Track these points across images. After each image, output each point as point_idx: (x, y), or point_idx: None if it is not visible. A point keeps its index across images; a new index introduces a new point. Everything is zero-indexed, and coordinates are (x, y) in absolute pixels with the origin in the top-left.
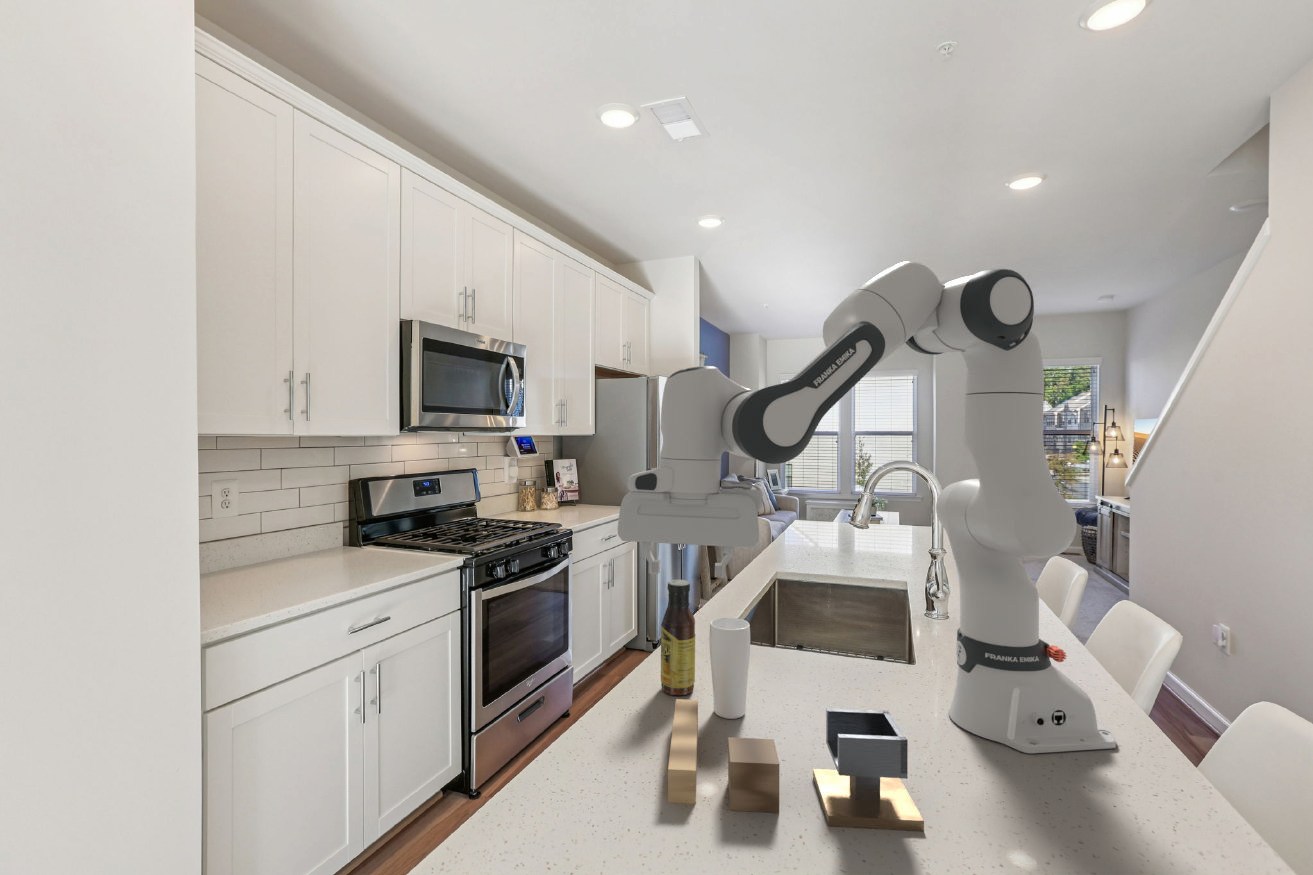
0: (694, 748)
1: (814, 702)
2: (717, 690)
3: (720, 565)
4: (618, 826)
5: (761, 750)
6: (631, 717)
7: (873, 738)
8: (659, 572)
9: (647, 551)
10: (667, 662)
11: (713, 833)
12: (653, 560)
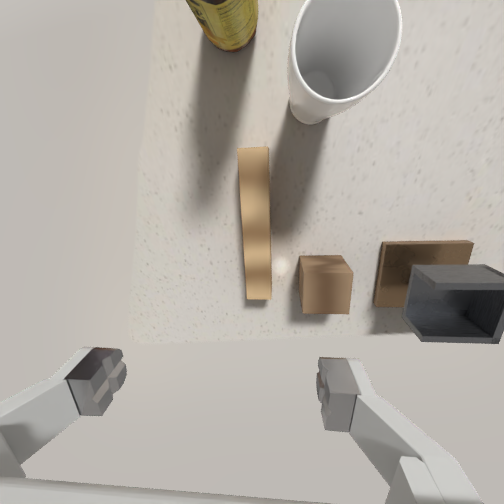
0: (268, 265)
1: (457, 31)
2: (296, 112)
3: (348, 428)
4: (219, 311)
5: (335, 293)
6: (185, 136)
7: (459, 341)
8: (122, 356)
9: (20, 464)
10: (204, 26)
11: (285, 314)
12: (74, 410)
